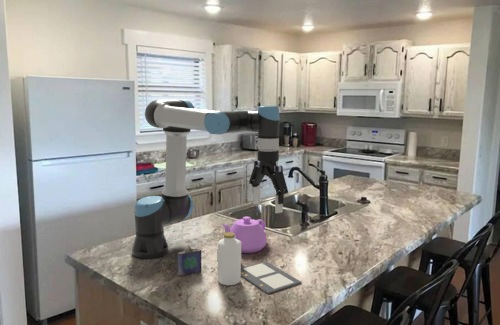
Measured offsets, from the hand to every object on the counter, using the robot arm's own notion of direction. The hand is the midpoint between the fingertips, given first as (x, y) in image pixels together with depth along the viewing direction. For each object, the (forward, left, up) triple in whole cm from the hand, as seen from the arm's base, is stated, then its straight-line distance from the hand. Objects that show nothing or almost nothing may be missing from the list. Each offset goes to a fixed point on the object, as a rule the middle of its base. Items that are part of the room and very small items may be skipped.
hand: (267, 208), depth 149 cm
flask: (-22, +19, -27) cm, 39 cm away
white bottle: (-13, +5, -27) cm, 30 cm away
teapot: (+10, +29, -27) cm, 41 cm away
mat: (0, 0, -27) cm, 27 cm away
